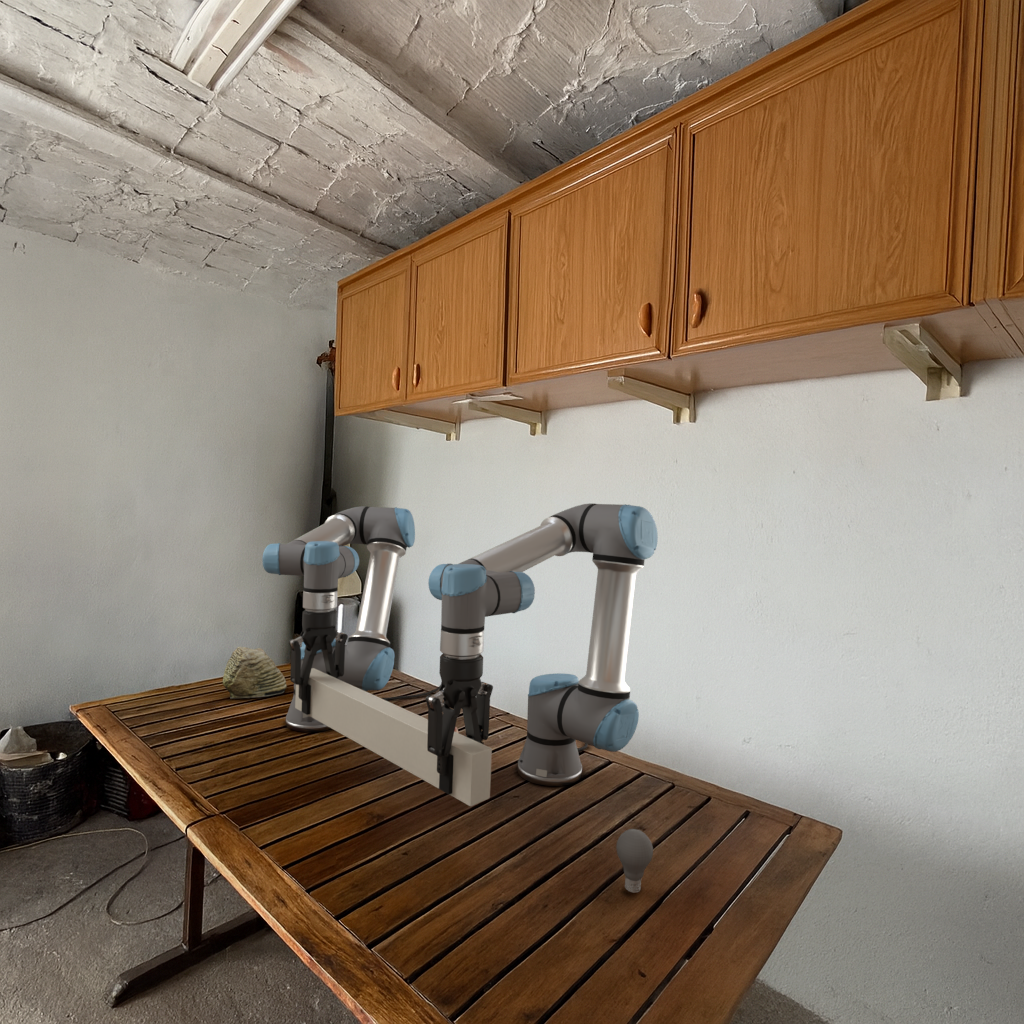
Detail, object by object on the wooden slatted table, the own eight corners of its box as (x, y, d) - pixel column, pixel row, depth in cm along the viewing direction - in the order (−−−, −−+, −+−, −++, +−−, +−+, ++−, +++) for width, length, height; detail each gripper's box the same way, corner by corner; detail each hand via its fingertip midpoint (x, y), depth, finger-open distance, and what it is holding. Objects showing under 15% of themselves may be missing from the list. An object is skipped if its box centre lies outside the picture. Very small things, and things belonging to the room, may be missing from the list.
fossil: (218, 695, 195) (220, 647, 195) (278, 685, 208) (279, 640, 207) (228, 703, 189) (230, 653, 188) (289, 692, 201) (290, 645, 201)
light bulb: (610, 879, 108) (613, 822, 108) (644, 879, 109) (647, 822, 109) (619, 902, 102) (622, 840, 102) (655, 901, 103) (658, 840, 103)
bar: (294, 708, 148) (296, 671, 147) (312, 704, 151) (313, 667, 151) (470, 806, 105) (472, 755, 104) (490, 798, 108) (492, 748, 108)
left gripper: (289, 615, 136) (286, 723, 136) (362, 608, 148) (359, 707, 148) (275, 610, 141) (271, 714, 142) (346, 603, 153) (343, 698, 154)
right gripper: (434, 667, 101) (430, 811, 102) (512, 650, 113) (508, 779, 114) (407, 657, 106) (402, 794, 107) (484, 642, 119) (480, 765, 119)
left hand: (316, 710), depth 145 cm, fingers closed on bar, 5 cm apart
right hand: (457, 786), depth 111 cm, fingers closed on bar, 4 cm apart
